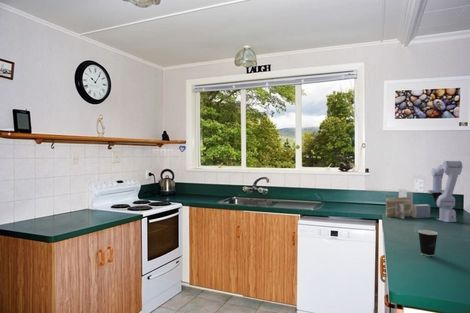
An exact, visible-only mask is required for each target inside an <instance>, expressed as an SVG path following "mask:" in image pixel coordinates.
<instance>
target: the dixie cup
mask: <svg viewBox="0 0 470 313" xmlns="http://www.w3.org/2000/svg"><path fill="white" fill-rule="evenodd" d="M417 233H418V237H419V238H418V239H419V246H420V248H419V249H420V253H423V254H426V255H434V256H435V253H436V247H437V240H438V239H437V238H438V234H439V233H438V232H437V231H434V230H428V229H418V230H417Z"/></svg>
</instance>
